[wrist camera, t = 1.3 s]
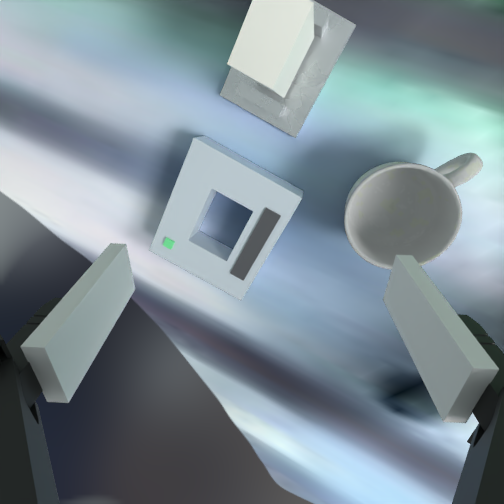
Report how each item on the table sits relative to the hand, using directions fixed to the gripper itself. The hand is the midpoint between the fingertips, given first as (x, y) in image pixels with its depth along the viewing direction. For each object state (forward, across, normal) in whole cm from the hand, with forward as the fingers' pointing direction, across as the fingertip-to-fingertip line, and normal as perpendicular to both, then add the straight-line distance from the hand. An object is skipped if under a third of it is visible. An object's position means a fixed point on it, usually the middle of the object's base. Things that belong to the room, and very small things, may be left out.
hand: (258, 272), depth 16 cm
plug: (+27, -2, -9) cm, 28 cm away
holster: (+28, -2, -9) cm, 29 cm away
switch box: (+26, +4, +9) cm, 28 cm away
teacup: (+24, -16, +4) cm, 29 cm away
